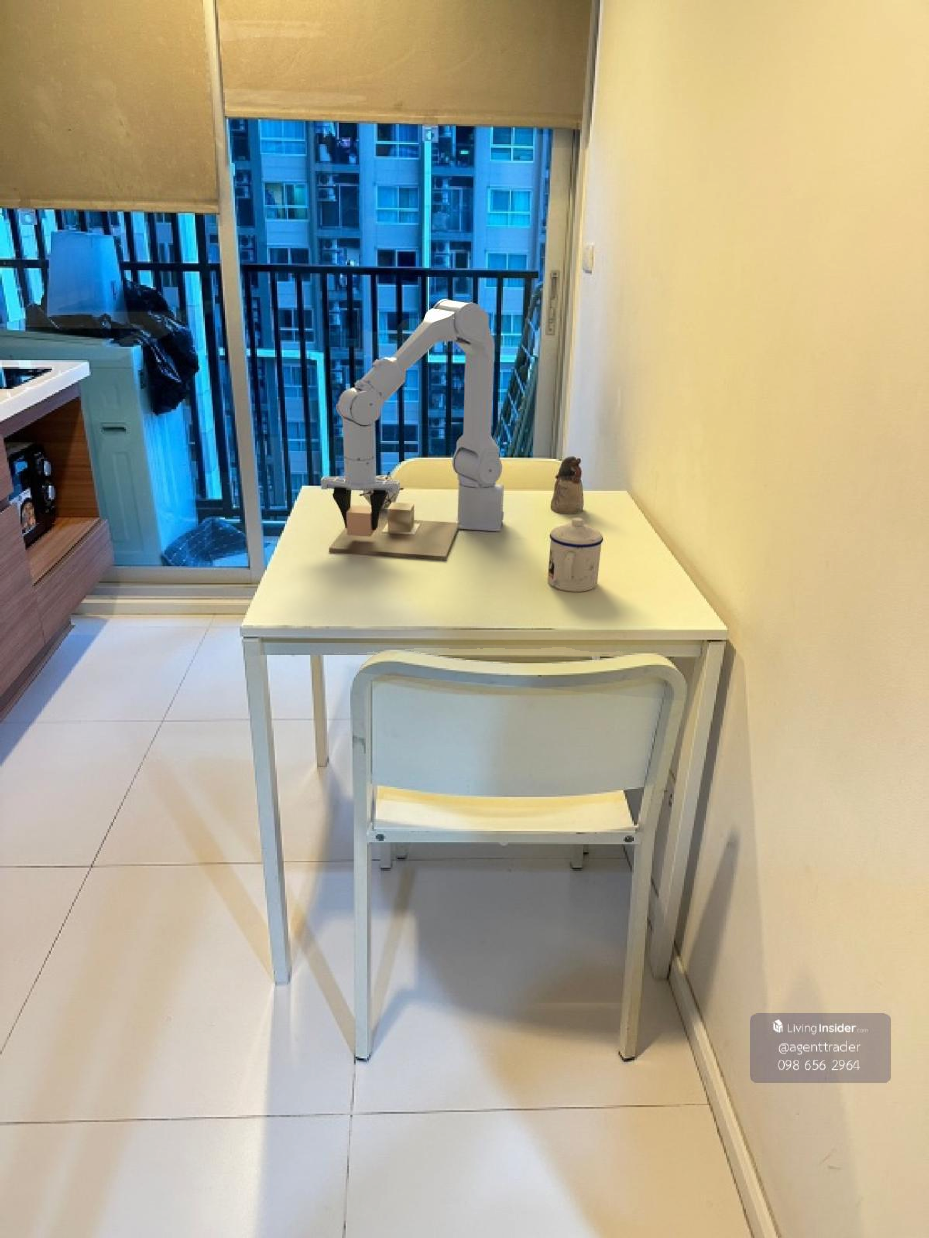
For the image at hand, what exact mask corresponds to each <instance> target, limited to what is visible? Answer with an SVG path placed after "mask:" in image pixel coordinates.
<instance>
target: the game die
mask: <svg viewBox="0 0 929 1238" xmlns="http://www.w3.org/2000/svg"><path fill="white" fill-rule="evenodd" d="M390 474H391V472H390V470H389V471H387V474H380V475H376V478H380V479H386V480H392V481H394V479H393V478H392V476H390ZM404 489H405V488H404V487H400V491H403V490H404ZM372 493H373V491H363V492H362V493H359V495H358V496H359V497H362V496H363V497H364V498H365V500H366V501H367V502H368V503H369V506H371V501H370V495H371V494H372ZM399 493H400V492H399ZM399 493H398V494H393V493H392V492H388V494H387V496H386V498H385V501H384V503H383V506H382V508H381V510H382V509H388V507H389V506H390V504H391V503H392V502H396V501H397V499H398V496H399Z"/></svg>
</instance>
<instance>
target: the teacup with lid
mask: <svg viewBox="0 0 929 1238" xmlns="http://www.w3.org/2000/svg"><path fill="white" fill-rule="evenodd" d="M549 538H550V541H549V542H550V543H549V544H550V545H549V554H548V556H549V558H548V570H547V582H548V584H549V585H550V586H551V587H552V588H555V589H557V590H560V591H564V592H572V593H581V592H582V593H583V592H588V591H591V590H594V588H596V587H597V585H598V579H599V572H600V571H599V570H600V562H601V561H600V560H601V553H602V552H601V550H602V543H603V542H604V537H603V534H602V533H601V531H599V530H598V529H596V528H593V527H591V526H589V525H588V524H586V523H585V520H584V519H583V518H581V517H573V519H572V520H571V522H570V523H567V524H565V525H560V526H556V527H555V528H553V529H551V531H550V534H549Z"/></svg>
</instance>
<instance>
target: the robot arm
mask: <svg viewBox="0 0 929 1238" xmlns="http://www.w3.org/2000/svg"><path fill="white" fill-rule="evenodd" d="M489 318H490V315H489V314H488V313H487V312H486V311H485V309H483V308H482V307H481V306H480V305H479V304H477V303H476V302H475V303H474V302H461V301H456V300H455V301H454V300H451V299H446V298H444V299H440V301H438V302H437V303H436V304H435V305H434V306H433V308H430V310H428V311H426V313H425V316H424V319H423V320H422V322H421V323H420V324H419V325H418V326H417V328H415V330H414V331H413V332H412V333H411V335H410V336H409V337H408V338H407V339H406V341H404V343H403V344H402V345H401V346H400V347H399V349H398V350H397V351H396V352H395V353H394V354H393V356H392V357H381V359H375V360H374V362H372V366H373V367H372V368H371V369H370V370H369V371H368V372H367V373H366V374H365V375H364V376H363V377H362V378H361V379H358V380H357V381H356V382H354V387H351V388H346V389H345V390H344V391H343V392H342V393H341V394H340V396H339V400H338V402H337V403H336V405H335V407H336V411H337V414H338V415H339V417H341V419H342V434H343V435H342V436H343V437H342V439H343V465H344V466H343V467H344V469H343V471H344V475H343V476H342V475H341V476H323V477H322V478H321V479H320V489H321V490H328V489H330V490H331V489H332V490H333V493H332V499H333V500H334V502H335V503H336V505H337V507H338V509H339V511H340V514H341V517H342V519H343V523H344V529H345V528H347V516H346V512H347V511H348V510H349V508H350V507H351V506H352V491H363V492H364V491H373V493H372V494H371V495H370V501H371V505H370V506H371V510H372V521H371V525H372V530H376V528H377V527H378V520H379V518H380V515H381V511H382V509H381V508H382V506H383V503H384V501H385V498H386V496H387V494H388V492H392V493H393V494H398V493H400V491H401V490H400V488H401V487H400V485H401V484H400V483H401V482H400V480H393V479H392V480H393V481H392V480H386V479H380V478H376V476H377V475H376V470H377V469H376V431H375V429H376V427H375V426H376V424H375V421H377V420H379V418H380V416H381V414H382V407H383V406H384V404H385V403H386V402H387V401H388V400H389V399H390V398H391V397H392V396H393V395H394V393H396V392H397V390H399V388H400V387H401V386H402V385H403V384H404V383H405V382H406V371H408V370H409V369H410V368H411V367H412V366H413V365H414V364H415V363H416V362H418V361H419V360H420V359H421V358H422V357H423V356H424V355H425V354H426V353H428V351H430V350H431V348H433V346H435V345H437V343H445V342H454V343H455V344H456V345H457V346H458V347H459V348H460V349H461V350H462V351H463V352H464V355H465V357H464V396H463V397H464V400H463V405H464V406H463V434H462V435H461V436H460V437H459V438H458V440H457V441H456V448H455V451H454V454H453V457H452V461H451V464H452V468H453V471H454V472H455V474H456V475H457V480H458V490H457V491H458V492H457V494H458V495H457V517H456V519H455V522H454V523H459V527H458V530H470V531H471V530H473V531H487V532H489V531H490V532H500V530H501V528H502V527H501V526H502V523H503V521H504V515H505V512H504V509H503V508H504V493H505V492H504V491H505V488H504V487H505V485H504V484H501V483H497V482H498V480H499V479H500V477H501V475H502V471H503V464H502V460H501V459H500V448H499V446H498V445H497V442H496V441H495V440H494V438H493V437H492V415H493V414H492V413H493V395H494V394H493V393H494V391H493V390H494V389H493V388H494V368H495V367H494V365H495V364H494V362H495V360H494V359H495V340H494V337H493V334H492V331H491V328H490V325H489ZM398 495H399V494H398Z"/></svg>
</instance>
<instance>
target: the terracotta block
mask: <svg viewBox="0 0 929 1238" xmlns="http://www.w3.org/2000/svg"><path fill="white" fill-rule="evenodd" d="M346 516H347V535H353V536H368V537H371V535H372V534H373V532H374V531H375V530H372V525H371V521H372V510H371V505H357V504H351V507H350V508H349V510H348V511H347V512H346Z"/></svg>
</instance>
